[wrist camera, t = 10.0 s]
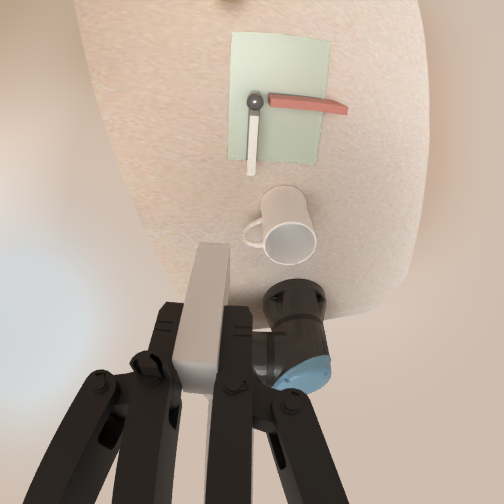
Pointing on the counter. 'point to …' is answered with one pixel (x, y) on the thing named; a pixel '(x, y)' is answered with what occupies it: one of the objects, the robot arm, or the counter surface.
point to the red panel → (306, 103)
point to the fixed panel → (252, 142)
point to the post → (255, 100)
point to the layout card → (280, 83)
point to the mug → (284, 226)
